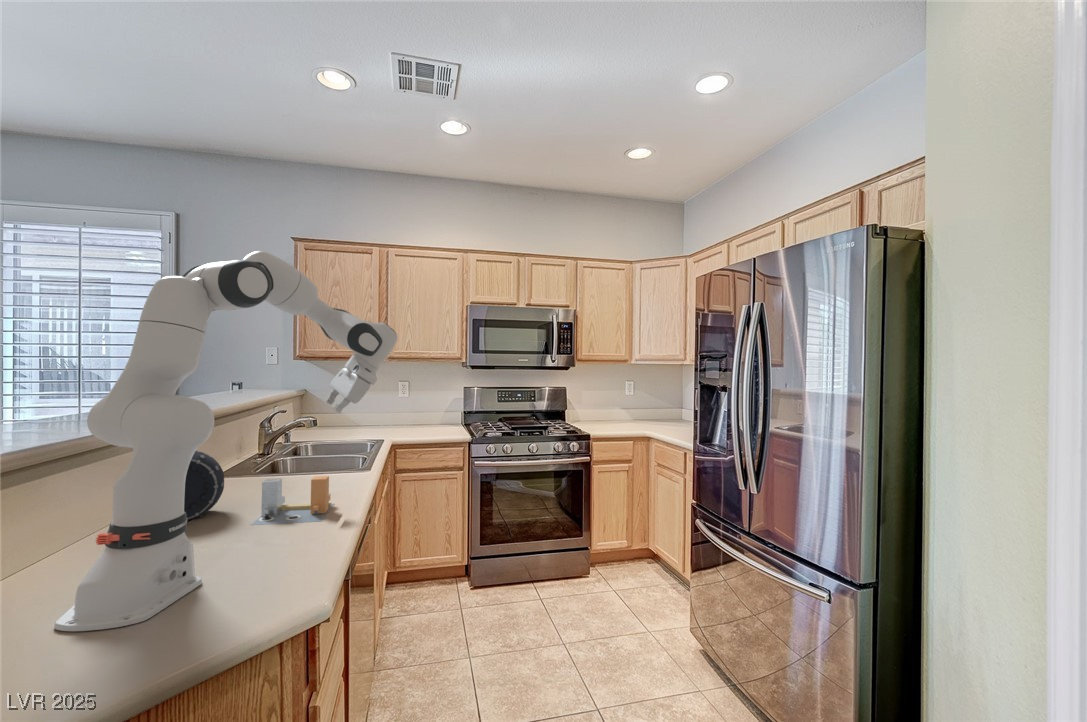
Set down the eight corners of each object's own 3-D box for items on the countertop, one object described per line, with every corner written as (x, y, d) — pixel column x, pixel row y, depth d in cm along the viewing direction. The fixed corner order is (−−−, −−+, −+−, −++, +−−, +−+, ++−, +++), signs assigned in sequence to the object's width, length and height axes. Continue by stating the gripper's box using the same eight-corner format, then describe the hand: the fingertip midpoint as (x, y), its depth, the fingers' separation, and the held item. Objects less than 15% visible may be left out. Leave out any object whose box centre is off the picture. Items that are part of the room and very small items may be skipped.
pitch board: (321, 525, 133) (321, 517, 133) (250, 529, 129) (250, 521, 129) (334, 507, 149) (335, 500, 149) (272, 510, 146) (272, 503, 146)
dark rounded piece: (221, 521, 135) (223, 451, 135) (130, 532, 125) (132, 456, 125) (225, 510, 144) (226, 445, 144) (140, 520, 134) (142, 450, 135)
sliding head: (322, 516, 136) (323, 481, 136) (307, 516, 135) (308, 481, 136) (332, 504, 148) (332, 472, 148) (318, 505, 147) (318, 472, 147)
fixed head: (273, 519, 134) (274, 484, 134) (257, 520, 133) (258, 484, 133) (286, 507, 145) (287, 474, 145) (272, 507, 144) (272, 475, 144)
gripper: (342, 358, 154) (315, 394, 151) (361, 370, 138) (332, 410, 135) (358, 369, 158) (332, 404, 155) (378, 381, 142) (350, 420, 139)
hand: (332, 407), depth 145 cm, fingers open, 8 cm apart
